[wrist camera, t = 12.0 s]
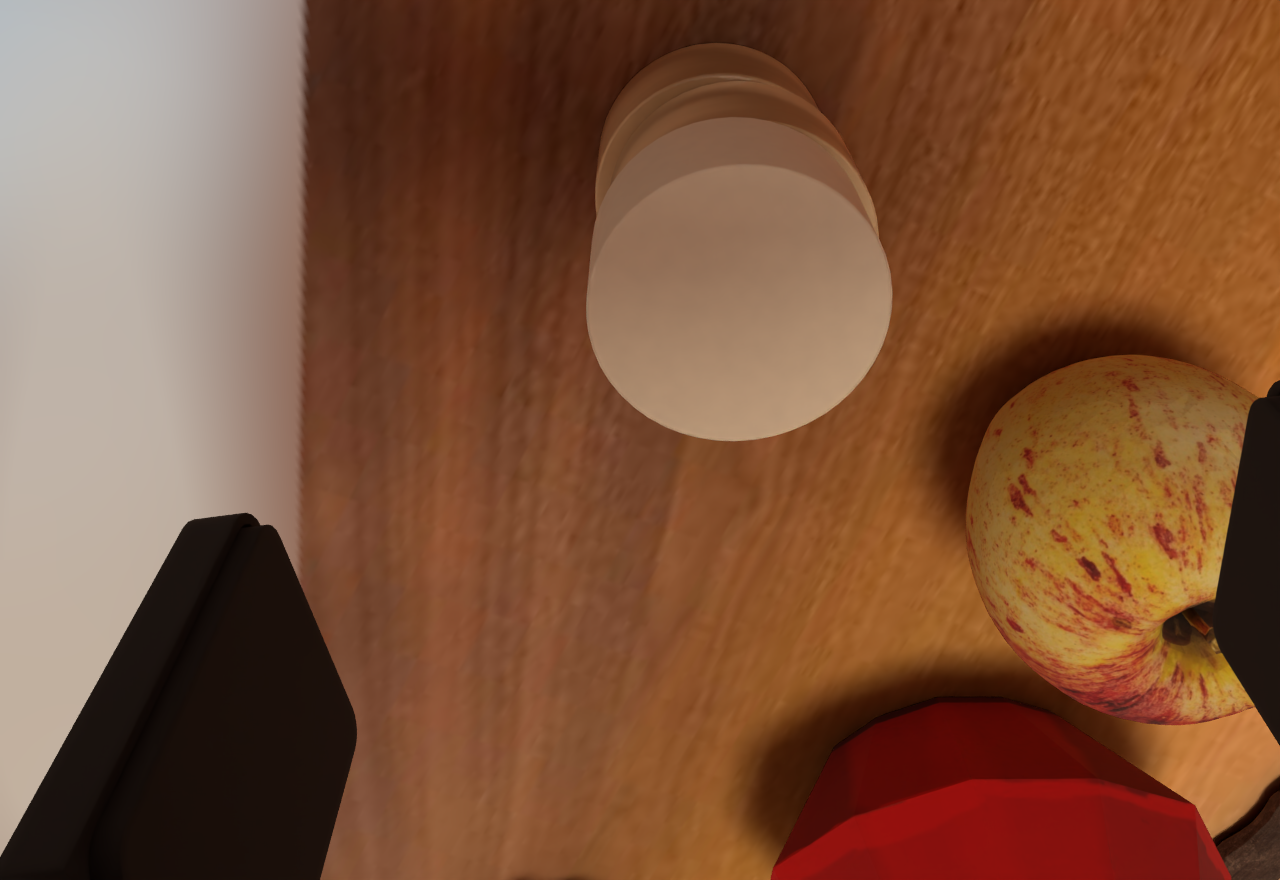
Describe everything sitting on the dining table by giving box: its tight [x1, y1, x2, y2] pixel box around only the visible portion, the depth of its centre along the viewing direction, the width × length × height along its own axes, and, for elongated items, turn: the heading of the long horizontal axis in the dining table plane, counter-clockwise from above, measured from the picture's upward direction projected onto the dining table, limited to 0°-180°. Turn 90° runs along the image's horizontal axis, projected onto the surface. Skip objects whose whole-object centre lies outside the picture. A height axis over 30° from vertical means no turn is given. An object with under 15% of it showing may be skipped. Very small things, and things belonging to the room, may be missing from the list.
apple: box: [966, 355, 1259, 725], centre depth 29 cm, size 9×9×10 cm
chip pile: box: [595, 43, 879, 238], centre depth 27 cm, size 6×6×6 cm
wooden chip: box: [586, 117, 893, 441], centre depth 23 cm, size 6×6×3 cm
